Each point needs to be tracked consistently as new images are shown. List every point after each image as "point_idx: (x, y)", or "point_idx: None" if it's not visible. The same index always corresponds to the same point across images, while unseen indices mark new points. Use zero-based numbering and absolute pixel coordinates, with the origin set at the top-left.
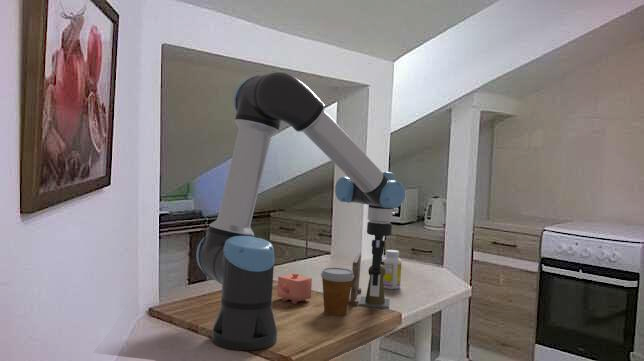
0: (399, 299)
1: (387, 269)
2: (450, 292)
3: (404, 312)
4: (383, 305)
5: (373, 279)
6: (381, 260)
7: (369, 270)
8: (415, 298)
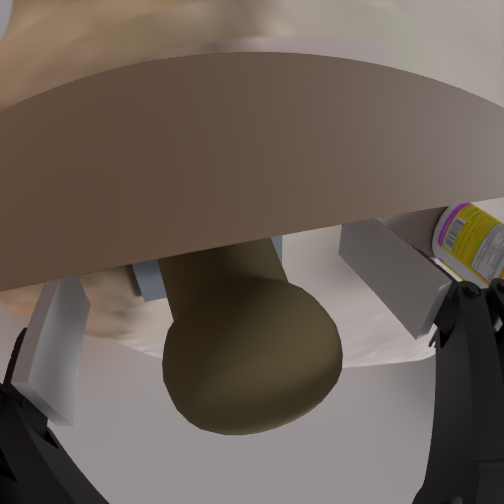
0: (315, 292)
1: (490, 257)
2: (402, 356)
3: (133, 345)
4: (147, 278)
5: (11, 367)
6: (436, 373)
7: (200, 331)
8: (340, 326)
